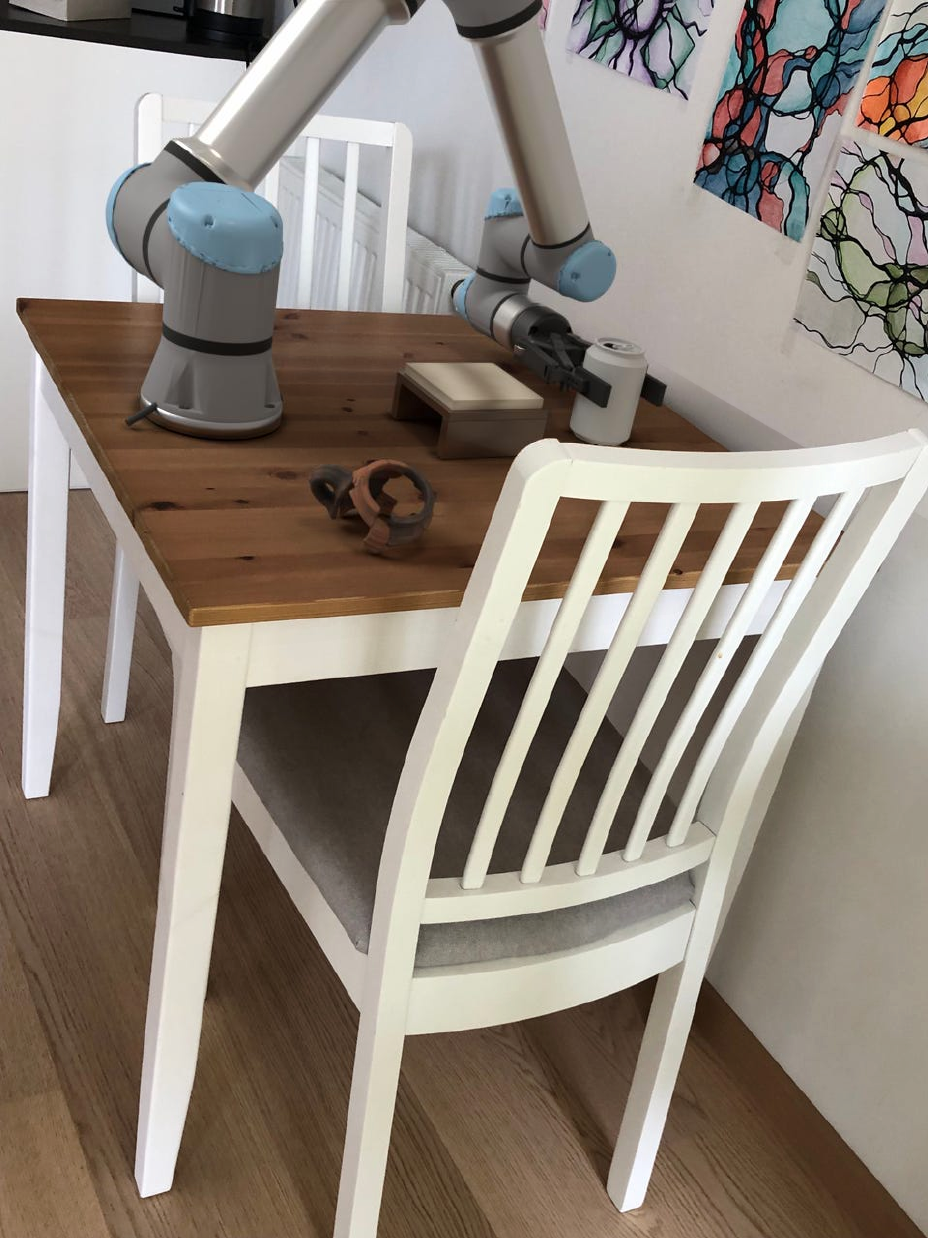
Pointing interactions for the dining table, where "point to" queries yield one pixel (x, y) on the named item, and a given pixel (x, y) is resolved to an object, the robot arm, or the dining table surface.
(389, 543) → the broken clay pot
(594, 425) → the can
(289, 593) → the dining table surface
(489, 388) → the bench
